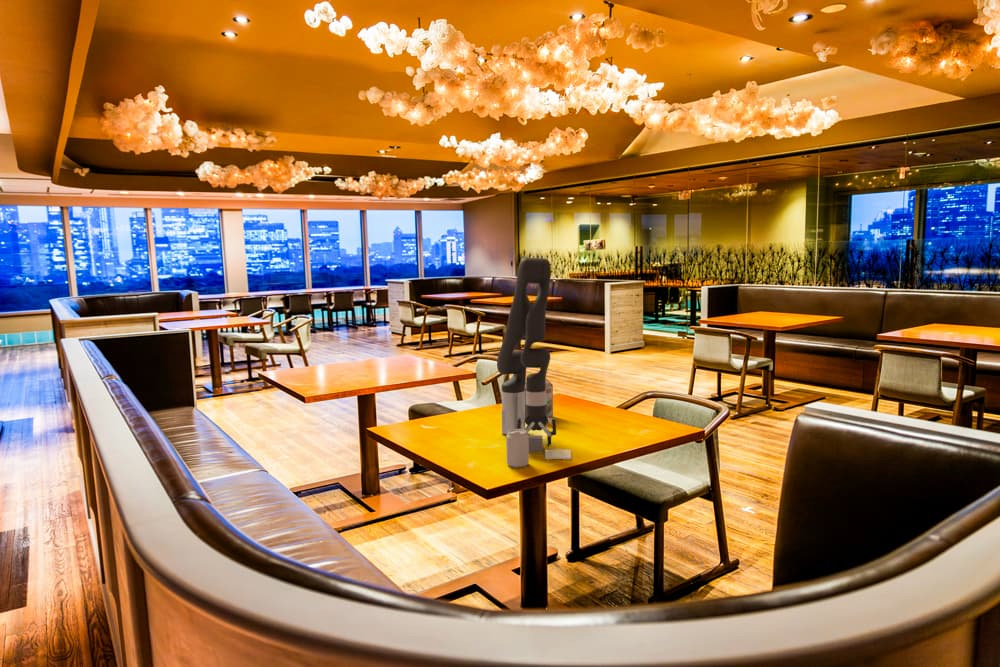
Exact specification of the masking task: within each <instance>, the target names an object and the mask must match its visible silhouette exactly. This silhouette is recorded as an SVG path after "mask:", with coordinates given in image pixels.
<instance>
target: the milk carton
mask: <svg viewBox="0 0 1000 667" xmlns="http://www.w3.org/2000/svg"><path fill="white" fill-rule="evenodd" d="M546 399H547V418H549V419H550V417H551V418H553V417H554V385H553V383H552V382H551V381H550V380H548V379H547V378H546ZM552 416H553V417H552ZM525 418H526V384H525Z"/></svg>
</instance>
